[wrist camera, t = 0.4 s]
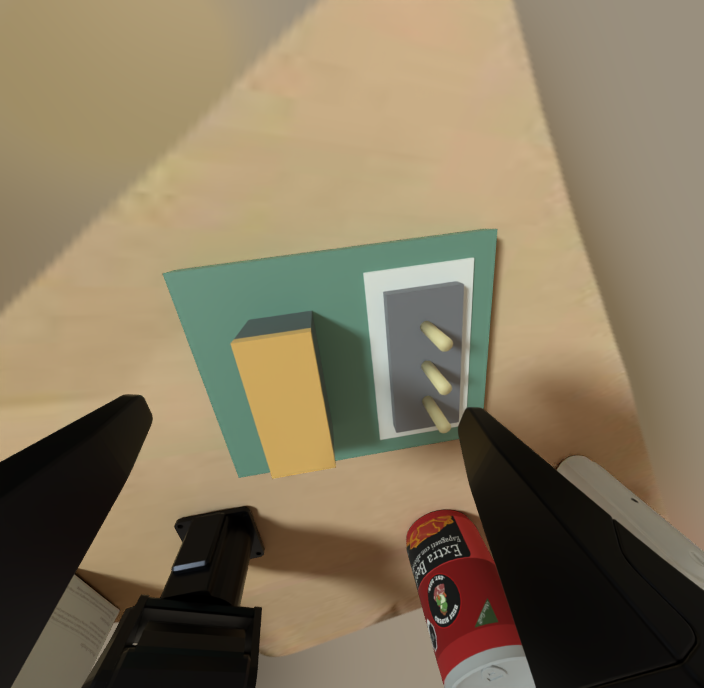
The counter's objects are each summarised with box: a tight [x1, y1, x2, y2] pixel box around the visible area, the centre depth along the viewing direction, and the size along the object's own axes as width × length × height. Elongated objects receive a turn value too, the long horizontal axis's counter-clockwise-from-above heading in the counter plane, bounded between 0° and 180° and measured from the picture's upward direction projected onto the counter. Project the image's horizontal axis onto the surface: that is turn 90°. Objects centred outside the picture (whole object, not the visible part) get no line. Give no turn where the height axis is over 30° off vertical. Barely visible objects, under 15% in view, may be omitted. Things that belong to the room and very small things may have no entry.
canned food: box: [406, 510, 536, 688], centre depth 25 cm, size 8×8×11 cm
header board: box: [163, 229, 497, 478], centre depth 19 cm, size 16×20×6 cm
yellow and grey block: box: [231, 311, 336, 479], centre depth 18 cm, size 9×4×4 cm, turn 7°
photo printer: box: [557, 455, 704, 590], centre depth 24 cm, size 10×4×12 cm, turn 173°
